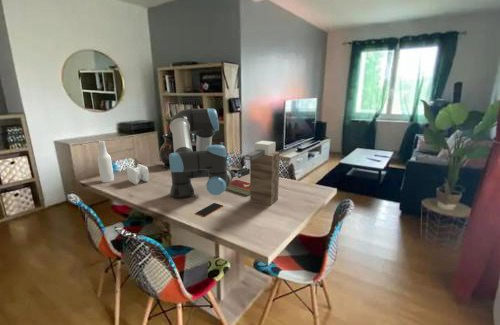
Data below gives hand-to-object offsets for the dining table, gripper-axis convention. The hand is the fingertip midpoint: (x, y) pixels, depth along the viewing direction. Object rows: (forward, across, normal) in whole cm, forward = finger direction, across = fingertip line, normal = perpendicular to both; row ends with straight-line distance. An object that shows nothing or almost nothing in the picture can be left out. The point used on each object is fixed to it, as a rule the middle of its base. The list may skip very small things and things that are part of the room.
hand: (232, 167), depth 138 cm
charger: (+12, +12, +4) cm, 18 cm away
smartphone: (+4, -14, -27) cm, 31 cm away
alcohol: (+43, -102, -26) cm, 114 cm away
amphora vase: (+86, -70, -22) cm, 113 cm away
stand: (+22, +16, -25) cm, 37 cm away
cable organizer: (+44, -79, -25) cm, 94 cm away
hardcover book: (+38, 0, -25) cm, 45 cm away
